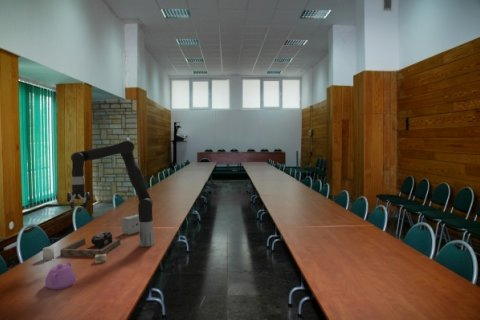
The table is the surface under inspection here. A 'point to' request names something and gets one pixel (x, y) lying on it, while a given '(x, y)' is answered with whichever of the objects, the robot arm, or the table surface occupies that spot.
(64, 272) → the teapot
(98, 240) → the camera
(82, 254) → the corral
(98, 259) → the birch block
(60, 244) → the table surface
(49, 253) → the white capsule cylinder
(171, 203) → the table surface
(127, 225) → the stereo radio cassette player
